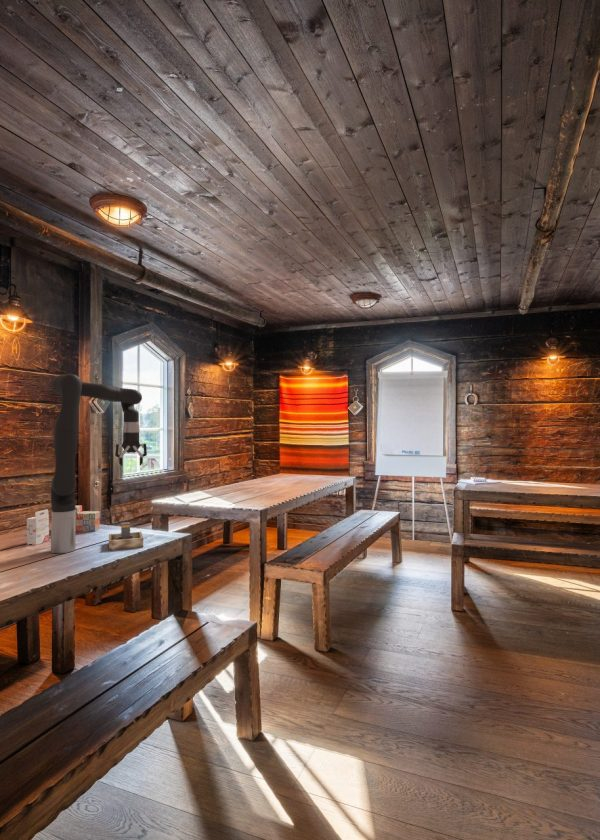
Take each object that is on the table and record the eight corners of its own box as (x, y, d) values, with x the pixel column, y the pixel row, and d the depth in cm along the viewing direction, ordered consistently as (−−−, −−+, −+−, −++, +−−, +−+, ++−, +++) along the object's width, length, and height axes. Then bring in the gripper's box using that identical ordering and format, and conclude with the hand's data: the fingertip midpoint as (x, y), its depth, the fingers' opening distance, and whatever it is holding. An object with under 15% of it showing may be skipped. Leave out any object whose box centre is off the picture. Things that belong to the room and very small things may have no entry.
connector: (121, 544, 214) (121, 524, 214) (121, 542, 217) (121, 522, 217) (130, 543, 215) (130, 523, 215) (129, 542, 219) (129, 522, 219)
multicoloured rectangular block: (100, 529, 249) (100, 505, 249) (95, 532, 243) (95, 507, 243) (58, 529, 249) (58, 505, 249) (52, 532, 243) (52, 507, 243)
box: (109, 550, 208) (109, 541, 208) (108, 543, 220) (108, 534, 220) (143, 547, 213) (143, 538, 213) (141, 540, 225) (141, 531, 225)
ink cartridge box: (39, 540, 226) (40, 508, 226) (49, 540, 225) (49, 508, 225) (26, 544, 218) (26, 511, 218) (35, 545, 217) (35, 512, 217)
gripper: (115, 431, 226) (115, 466, 226) (147, 431, 232) (147, 465, 232) (115, 431, 233) (115, 465, 233) (146, 431, 239) (146, 464, 239)
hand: (131, 465), depth 232 cm, fingers open, 8 cm apart
